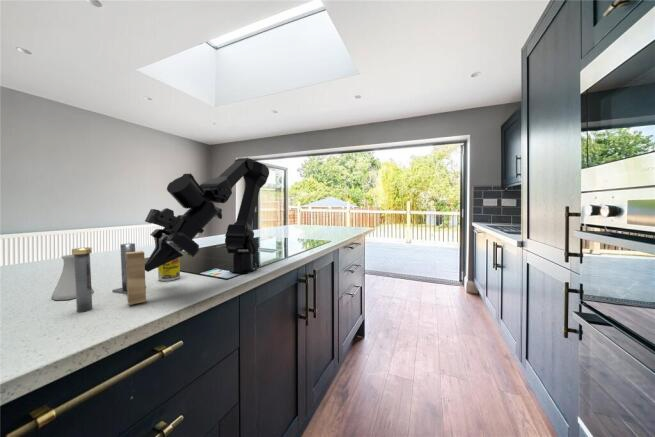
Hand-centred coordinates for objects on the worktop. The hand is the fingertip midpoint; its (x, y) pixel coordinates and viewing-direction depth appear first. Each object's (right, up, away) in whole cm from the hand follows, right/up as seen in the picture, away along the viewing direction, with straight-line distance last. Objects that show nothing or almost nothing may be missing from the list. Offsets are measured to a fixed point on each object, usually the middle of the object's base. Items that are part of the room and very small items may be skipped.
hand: (145, 270), depth 59 cm
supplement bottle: (-6, -7, +19) cm, 21 cm away
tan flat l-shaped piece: (-4, -7, +2) cm, 8 cm away
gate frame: (-10, -7, +3) cm, 13 cm away
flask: (-21, -7, +4) cm, 22 cm away
